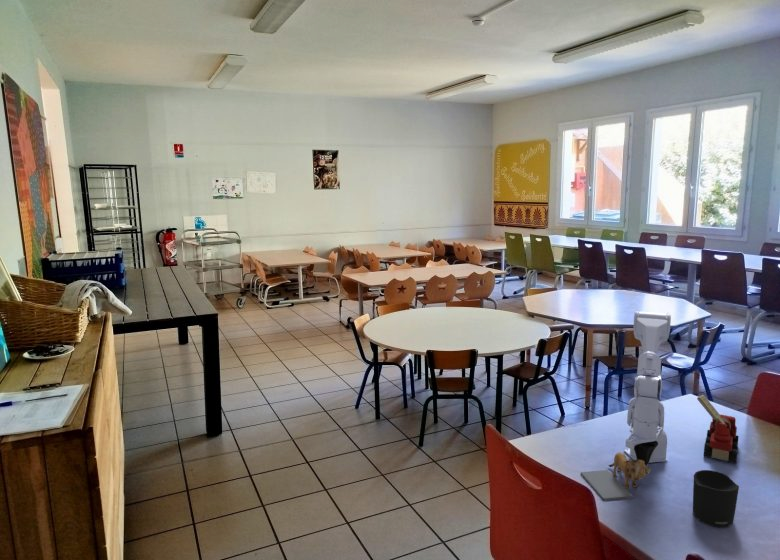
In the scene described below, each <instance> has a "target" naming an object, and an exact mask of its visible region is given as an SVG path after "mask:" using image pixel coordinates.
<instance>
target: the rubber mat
mask: <svg viewBox="0 0 780 560" xmlns="http://www.w3.org/2000/svg"><path fill="white" fill-rule="evenodd" d="M580 475H581V476H582V477H583V479H584V480H585V481H586V482H587V484H589V485H590V487H591V488H592V489H593V490H594V491H595V492H596V494H598V496H599V497H600V498H601V499H602V500H603V501H612V500H623V499H632V498H633V494H632V493H631V492H630V491H629V489H626V488H625V485H623V484H622V483H621V482H620V481H619V480H618V479H617V477H614V476H613V473H611V472H610V471H609V470H608V469H604V470H603V469H602V470H593V471H591V470H590V471H581V472H580Z"/></svg>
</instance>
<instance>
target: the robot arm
mask: <svg viewBox="0 0 780 560" xmlns="http://www.w3.org/2000/svg"><path fill="white" fill-rule="evenodd" d="M633 316H634V317H633V335H634V339H636V340H639V341H640V344H641V348H642V351H641V354H640V355H639V356H638V359H637V360H638V361H637V371H636V376H635V378H634V389H633V392H634V397H632V398H630V400H629V401H628V407H627V418H626V423H627V426H628V427H630V428H629V433H630V435H629V437H628V438H627V439H625V447H626V449H625V448H624V449H623V452H625V454H626V455H628V456H629V457H630V459H632V460H638V459H639V460H643V461H644V462H645V463H644V464H645V465H646V466H647V467H648V465H649V464H650V463H651V464H652V463H660V462H661V463H663V462H668V458H667V448H668V438H667V437H668V435H667V433H666V432H665V430H664V428H665V427H664V425H665V406H664V404H663V403H662V402H661V401H660V399H661V397H662V391H663V390H662V389H663V380H662V373H661V372H662V371H661V369H662V359H661V357H660V356H659V355H658V353H659V351H658V350H659V348H660V345H661V344H662V343H664V342H667V341H668V339H669V337H670V332H671V324H672V323H671V321H672V316H671V314H670V312H667V313H666V312H655V311H654V312H653V311H639V310H636V311H635V312H634V315H633ZM658 394H659V395H658Z"/></svg>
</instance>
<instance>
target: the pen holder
mask: <svg viewBox="0 0 780 560" xmlns="http://www.w3.org/2000/svg"><path fill="white" fill-rule="evenodd" d="M739 488H740V486H739V484H737V483H736V482H735V481H734V480H732V479H731V477H729V476H728V475H727V474H725V473H722V472H720V471H716V470H713V469H712V470H709V469H702V470H697V471H696V472H695V473H694V474H693V489H692V513H693V515H694V517H696V519H697V520H698V521H700V522H701V523H703V524H706V525H708V526H711V527H715V528H728V527H730V526H732V524H733V523H734V521H735V514H736V508H737V501H738V497H739V496H738V494H739Z"/></svg>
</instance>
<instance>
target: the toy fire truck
mask: <svg viewBox="0 0 780 560" xmlns="http://www.w3.org/2000/svg"><path fill="white" fill-rule="evenodd" d="M696 399H697V401H698V402H699V404H701V406H702V407H703V408H704V410H705V411H706V412H707V413H708V415H710V417H711V418H712V419H711V420H712V421H710V424H709V429H707V433H706V437H705V442H704V445H703V457H707V458H709V459H711V458H712V459H716V460H721V461H726V462H729V463H733V464H737V460H738V459H737V458H738V450H739V448H738V446H739V435H737V433H738V431H737V429H738V428H737V426H736V418H735V416H732V415H731V416H730V415H727V414H726V415H724V414H720V413H719V412H718V411H717V409H716V408H715V407H714V405H713V404H712V403H711V402H710V400H709V399H708V398H707V397H706V395H704V394H702V395H701V394H700V395H699V396H698V397H696Z"/></svg>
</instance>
